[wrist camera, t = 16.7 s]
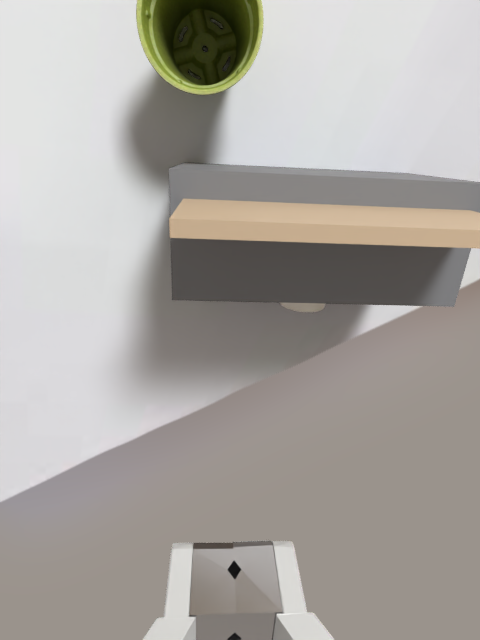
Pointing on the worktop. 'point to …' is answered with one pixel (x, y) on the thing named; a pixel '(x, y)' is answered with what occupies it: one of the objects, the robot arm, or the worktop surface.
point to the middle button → (304, 306)
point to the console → (319, 235)
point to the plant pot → (200, 40)
